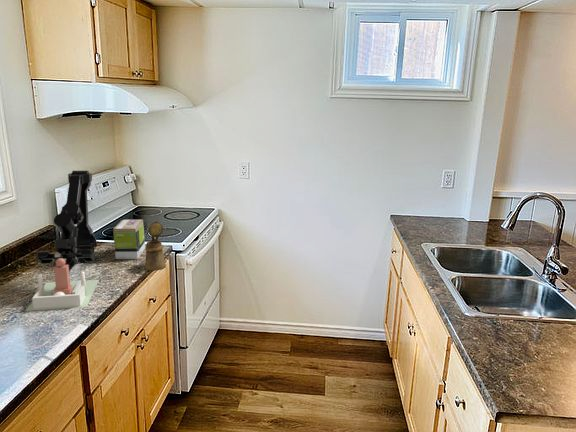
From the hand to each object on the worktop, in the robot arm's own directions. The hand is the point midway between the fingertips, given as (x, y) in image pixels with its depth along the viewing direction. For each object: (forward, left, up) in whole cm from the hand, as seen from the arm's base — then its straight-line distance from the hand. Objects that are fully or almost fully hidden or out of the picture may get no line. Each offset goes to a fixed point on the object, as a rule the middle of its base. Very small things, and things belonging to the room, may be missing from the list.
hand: (63, 277), depth 158 cm
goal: (+5, +4, -7) cm, 9 cm away
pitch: (0, 0, -7) cm, 7 cm away
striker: (+1, +1, -6) cm, 6 cm away
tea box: (-43, -14, -7) cm, 46 cm away
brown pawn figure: (-39, +6, -7) cm, 40 cm away
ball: (+6, +5, -4) cm, 9 cm away
